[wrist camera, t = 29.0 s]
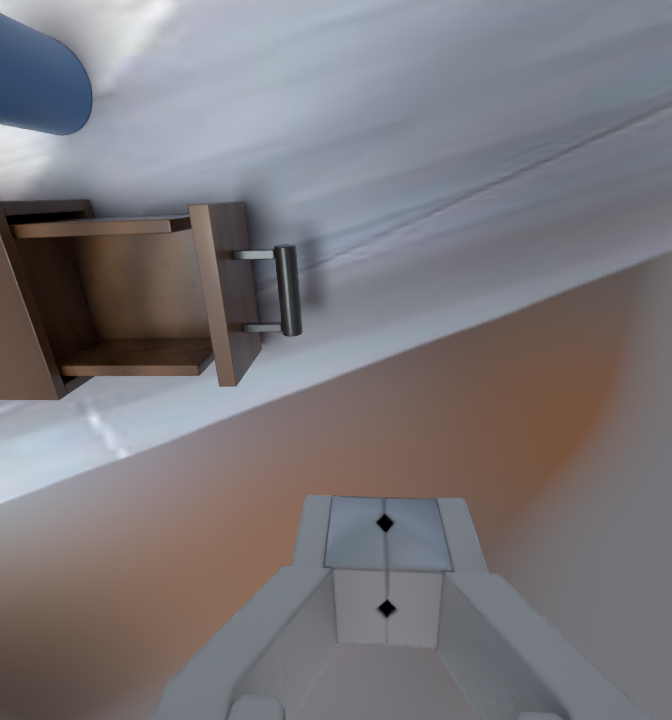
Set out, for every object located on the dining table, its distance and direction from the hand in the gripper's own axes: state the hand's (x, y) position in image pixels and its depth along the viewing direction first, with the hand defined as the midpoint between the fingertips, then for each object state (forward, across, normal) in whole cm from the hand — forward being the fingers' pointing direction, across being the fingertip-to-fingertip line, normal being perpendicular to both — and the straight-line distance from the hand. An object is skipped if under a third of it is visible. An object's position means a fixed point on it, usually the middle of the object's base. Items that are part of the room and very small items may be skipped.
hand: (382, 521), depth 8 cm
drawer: (+24, +14, 0) cm, 28 cm away
